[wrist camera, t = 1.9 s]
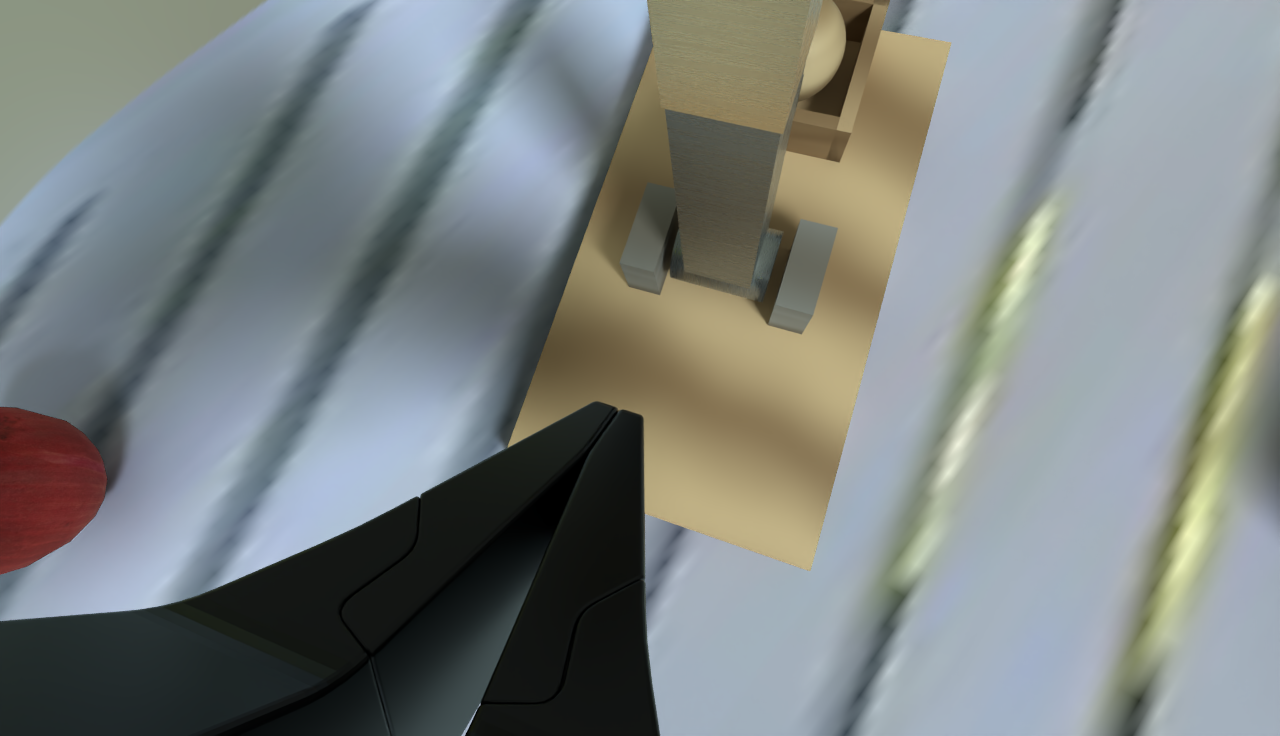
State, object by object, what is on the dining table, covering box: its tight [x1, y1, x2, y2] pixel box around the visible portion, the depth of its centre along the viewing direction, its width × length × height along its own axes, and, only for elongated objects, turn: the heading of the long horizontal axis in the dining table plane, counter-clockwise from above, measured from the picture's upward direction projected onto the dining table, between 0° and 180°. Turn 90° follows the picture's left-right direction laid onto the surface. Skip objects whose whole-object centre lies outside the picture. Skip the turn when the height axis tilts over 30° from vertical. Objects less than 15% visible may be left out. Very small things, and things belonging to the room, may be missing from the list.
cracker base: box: [507, 0, 951, 571], centre depth 20 cm, size 20×11×4 cm, turn 162°
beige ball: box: [798, 0, 846, 102], centre depth 20 cm, size 4×4×4 cm
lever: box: [647, 0, 823, 302], centre depth 14 cm, size 5×3×14 cm, turn 162°
